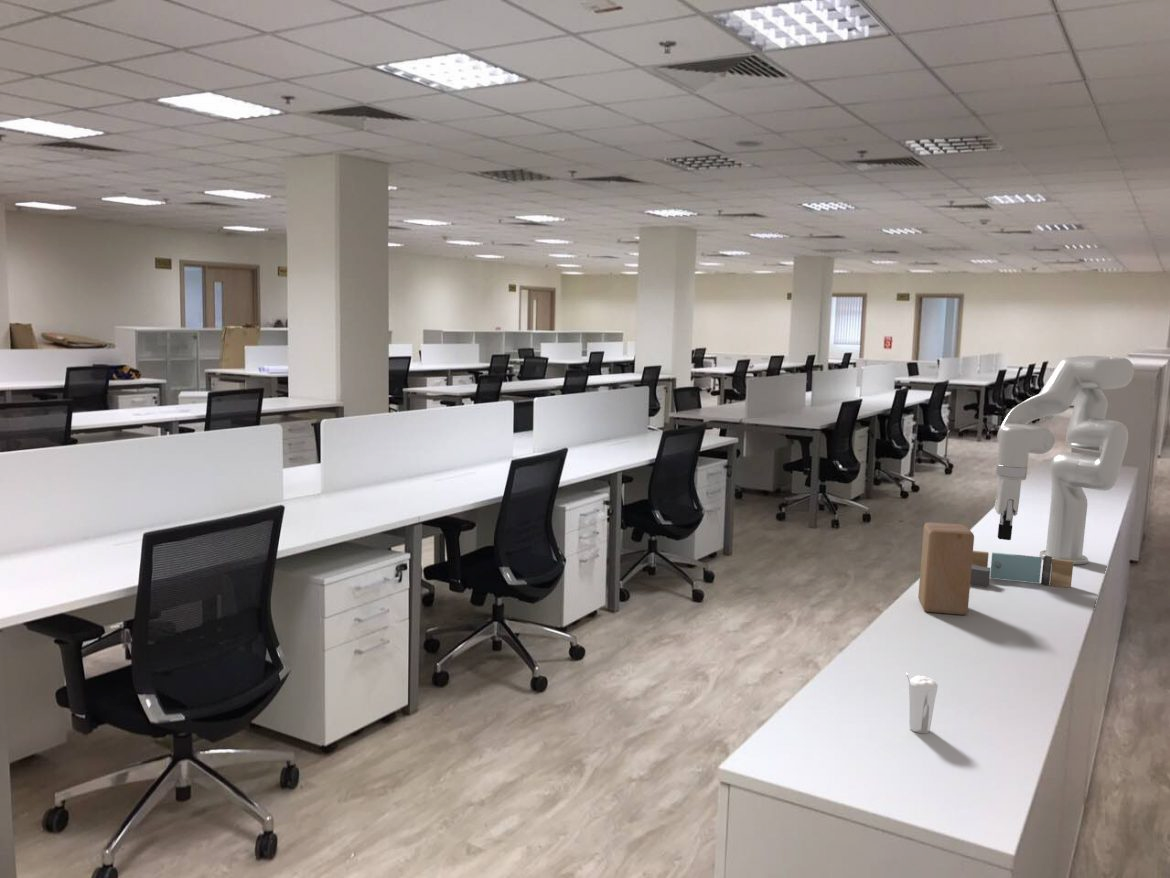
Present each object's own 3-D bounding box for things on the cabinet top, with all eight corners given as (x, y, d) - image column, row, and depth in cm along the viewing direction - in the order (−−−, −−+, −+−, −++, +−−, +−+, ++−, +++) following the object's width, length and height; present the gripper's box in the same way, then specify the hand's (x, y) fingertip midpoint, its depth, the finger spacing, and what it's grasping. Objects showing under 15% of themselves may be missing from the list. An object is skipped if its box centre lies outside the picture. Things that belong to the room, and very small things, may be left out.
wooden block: (968, 616, 219) (975, 533, 216) (923, 612, 221) (930, 530, 218) (960, 603, 229) (967, 524, 226) (917, 600, 230) (923, 521, 228)
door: (1038, 581, 248) (1041, 557, 247) (1040, 584, 246) (1042, 559, 245) (990, 576, 252) (992, 552, 251) (990, 579, 250) (993, 554, 249)
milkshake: (896, 723, 160) (900, 668, 159) (926, 723, 161) (931, 667, 159) (907, 735, 156) (912, 678, 154) (938, 735, 156) (943, 678, 155)
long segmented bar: (969, 575, 254) (972, 548, 253) (1069, 585, 246) (1072, 558, 245) (970, 577, 252) (972, 550, 251) (1070, 588, 245) (1073, 560, 243)
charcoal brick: (960, 580, 250) (962, 563, 249) (988, 584, 247) (990, 567, 246) (959, 583, 246) (960, 567, 246) (987, 588, 243) (989, 571, 242)
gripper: (993, 467, 259) (986, 532, 261) (999, 474, 245) (991, 543, 247) (1022, 470, 257) (1015, 535, 259) (1030, 477, 243) (1022, 546, 245)
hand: (1004, 538), depth 253 cm, fingers closed
